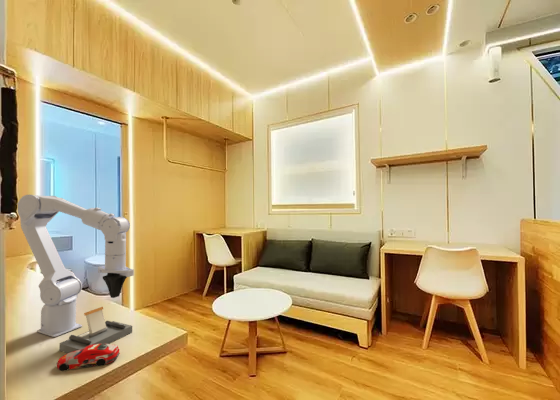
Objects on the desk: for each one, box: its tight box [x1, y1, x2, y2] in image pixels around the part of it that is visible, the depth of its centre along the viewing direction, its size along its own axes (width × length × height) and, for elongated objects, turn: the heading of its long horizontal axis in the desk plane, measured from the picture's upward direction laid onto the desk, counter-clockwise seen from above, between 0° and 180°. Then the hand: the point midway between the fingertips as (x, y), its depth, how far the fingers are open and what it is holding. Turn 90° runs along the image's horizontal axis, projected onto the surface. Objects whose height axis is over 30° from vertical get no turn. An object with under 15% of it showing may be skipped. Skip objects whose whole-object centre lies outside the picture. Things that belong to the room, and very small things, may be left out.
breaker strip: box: [59, 320, 133, 354], centre depth 77 cm, size 9×15×3 cm, turn 157°
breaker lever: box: [83, 306, 108, 337], centre depth 77 cm, size 2×5×7 cm, turn 158°
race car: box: [56, 343, 121, 372], centre depth 66 cm, size 13×5×4 cm, turn 103°
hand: (115, 296), depth 84 cm, fingers closed
